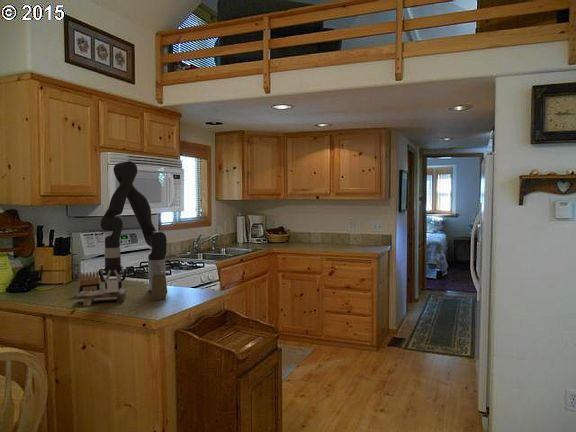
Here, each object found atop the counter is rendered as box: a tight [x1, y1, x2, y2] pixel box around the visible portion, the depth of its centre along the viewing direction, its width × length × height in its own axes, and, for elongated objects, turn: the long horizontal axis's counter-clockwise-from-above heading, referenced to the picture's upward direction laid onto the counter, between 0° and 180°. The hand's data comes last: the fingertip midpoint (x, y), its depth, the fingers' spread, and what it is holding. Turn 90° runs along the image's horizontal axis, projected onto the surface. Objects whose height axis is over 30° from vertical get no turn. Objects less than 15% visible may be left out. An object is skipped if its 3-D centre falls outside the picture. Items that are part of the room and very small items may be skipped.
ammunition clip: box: [78, 270, 101, 294], centre depth 239 cm, size 11×2×12 cm, turn 129°
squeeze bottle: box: [150, 264, 168, 301], centre depth 224 cm, size 8×8×18 cm
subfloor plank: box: [75, 288, 127, 307], centre depth 221 cm, size 22×16×5 cm
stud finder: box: [106, 276, 119, 293], centre depth 222 cm, size 5×9×6 cm, turn 15°
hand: (113, 289), depth 222 cm, fingers closed on stud finder, 5 cm apart
